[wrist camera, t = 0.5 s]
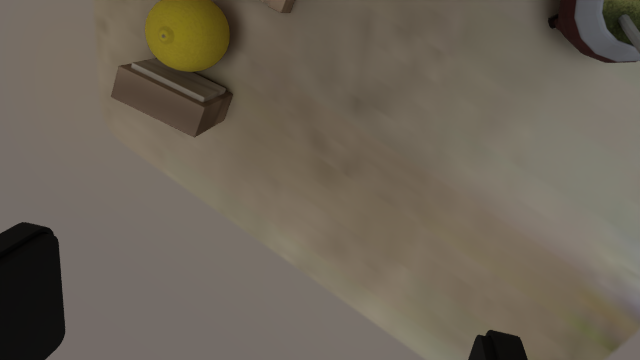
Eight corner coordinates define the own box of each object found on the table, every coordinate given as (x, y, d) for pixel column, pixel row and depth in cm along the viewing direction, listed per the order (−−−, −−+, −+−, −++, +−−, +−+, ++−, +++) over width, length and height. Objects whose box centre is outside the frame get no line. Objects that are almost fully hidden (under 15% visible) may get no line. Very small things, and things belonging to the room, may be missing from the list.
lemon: (174, 54, 39) (119, 63, 31) (185, -15, 37) (129, -22, 29) (235, 74, 39) (194, 89, 31) (250, 6, 36) (210, 5, 29)
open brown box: (160, 53, 39) (120, 60, 34) (234, 89, 39) (206, 102, 33) (151, 85, 40) (110, 96, 35) (223, 120, 40) (194, 137, 35)
